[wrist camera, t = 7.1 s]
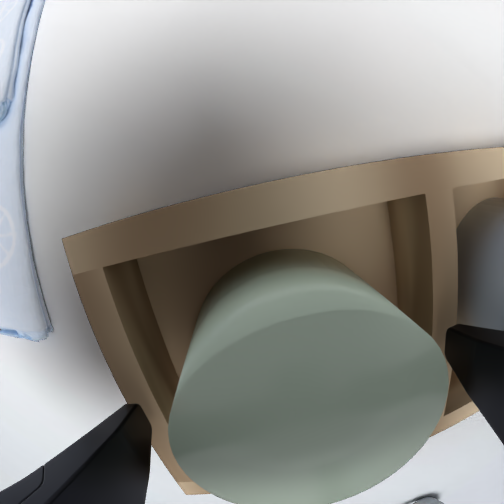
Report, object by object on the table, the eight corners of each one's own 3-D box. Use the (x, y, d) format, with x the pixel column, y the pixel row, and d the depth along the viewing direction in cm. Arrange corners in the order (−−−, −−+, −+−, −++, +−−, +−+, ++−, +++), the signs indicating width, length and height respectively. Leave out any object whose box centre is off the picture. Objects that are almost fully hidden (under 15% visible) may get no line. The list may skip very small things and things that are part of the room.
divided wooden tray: (533, 145, 10) (574, 144, 7) (532, 328, 12) (563, 347, 9) (105, 224, 10) (61, 238, 7) (193, 446, 12) (186, 494, 9)
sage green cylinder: (364, 229, 10) (458, 269, 5) (376, 382, 11) (429, 467, 6) (172, 273, 10) (118, 350, 5) (223, 419, 11) (218, 521, 6)
